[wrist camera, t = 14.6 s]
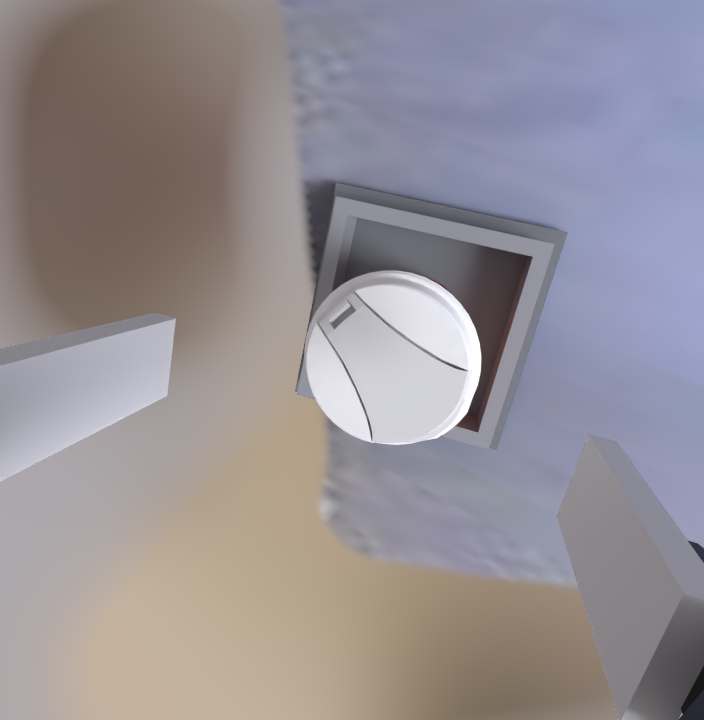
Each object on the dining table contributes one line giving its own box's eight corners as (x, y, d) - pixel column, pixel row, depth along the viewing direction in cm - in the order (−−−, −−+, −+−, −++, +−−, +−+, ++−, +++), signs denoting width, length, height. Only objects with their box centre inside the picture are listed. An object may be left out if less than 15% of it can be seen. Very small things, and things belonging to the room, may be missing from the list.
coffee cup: (340, 311, 37) (259, 353, 23) (426, 236, 34) (395, 229, 20) (412, 397, 37) (376, 491, 23) (502, 328, 34) (526, 387, 20)
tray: (339, 184, 36) (324, 177, 32) (564, 232, 33) (577, 231, 29) (299, 387, 40) (281, 402, 36) (495, 444, 37) (498, 467, 34)
